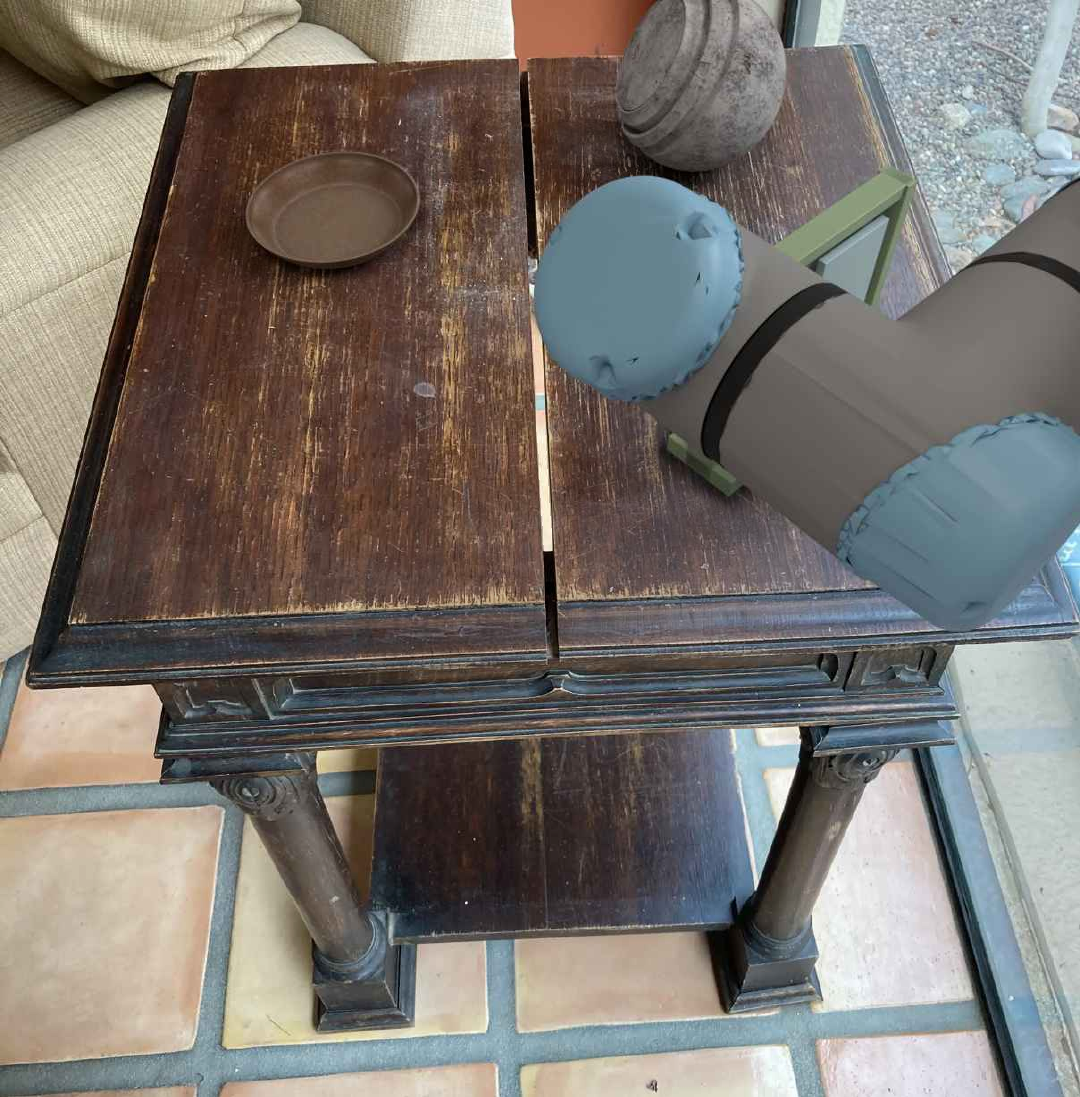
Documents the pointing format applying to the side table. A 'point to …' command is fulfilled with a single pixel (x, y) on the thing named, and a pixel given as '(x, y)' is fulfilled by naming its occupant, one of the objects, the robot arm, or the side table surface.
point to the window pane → (854, 259)
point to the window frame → (807, 246)
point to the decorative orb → (701, 82)
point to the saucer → (333, 209)
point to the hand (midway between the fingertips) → (889, 418)
